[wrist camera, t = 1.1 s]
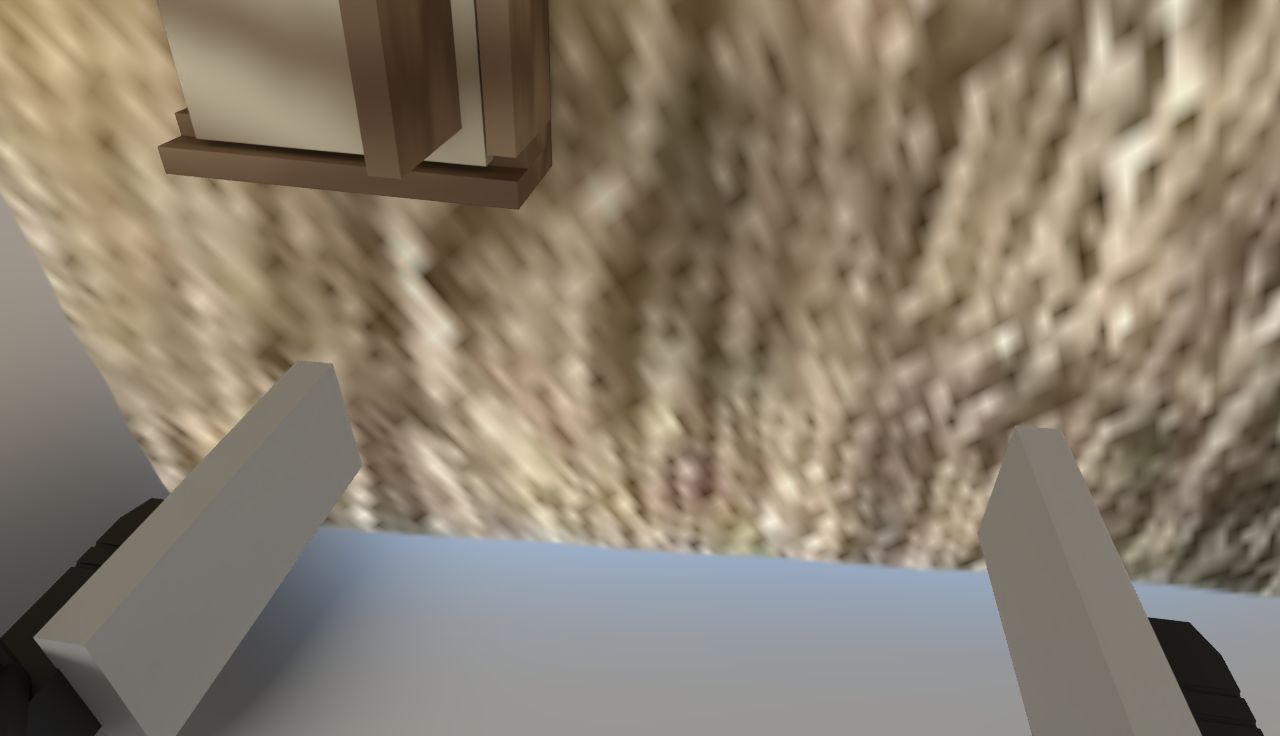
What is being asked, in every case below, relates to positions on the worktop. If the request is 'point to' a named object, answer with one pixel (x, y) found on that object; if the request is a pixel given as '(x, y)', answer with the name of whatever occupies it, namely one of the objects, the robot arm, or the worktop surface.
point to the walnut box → (512, 137)
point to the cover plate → (335, 77)
